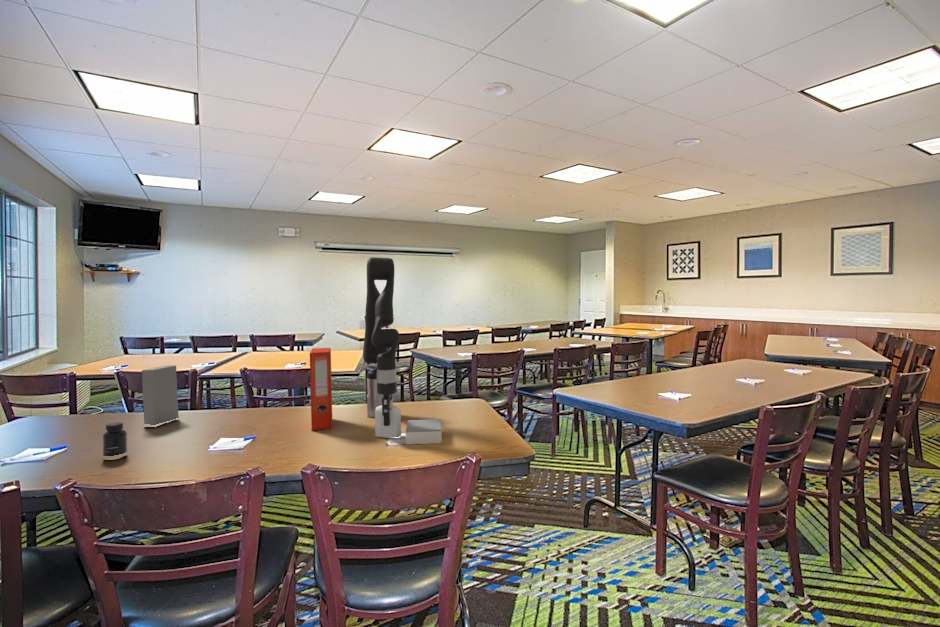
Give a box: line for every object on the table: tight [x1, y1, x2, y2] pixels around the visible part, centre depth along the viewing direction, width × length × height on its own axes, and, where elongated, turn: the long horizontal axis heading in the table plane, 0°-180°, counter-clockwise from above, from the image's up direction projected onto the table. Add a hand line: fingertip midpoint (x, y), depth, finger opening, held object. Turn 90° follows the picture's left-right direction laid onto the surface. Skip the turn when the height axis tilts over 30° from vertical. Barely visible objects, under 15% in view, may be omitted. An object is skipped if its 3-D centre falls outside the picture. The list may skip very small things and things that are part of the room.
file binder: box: [309, 347, 333, 431], centre depth 205 cm, size 8×17×32 cm, turn 15°
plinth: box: [405, 418, 443, 445], centre depth 184 cm, size 13×15×5 cm
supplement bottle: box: [102, 422, 128, 457], centre depth 168 cm, size 7×7×12 cm
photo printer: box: [374, 405, 402, 439], centre depth 186 cm, size 10×4×12 cm, turn 72°
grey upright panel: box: [141, 364, 180, 425], centre depth 213 cm, size 14×6×25 cm, turn 172°
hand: (387, 422), depth 186 cm, fingers open, 8 cm apart
